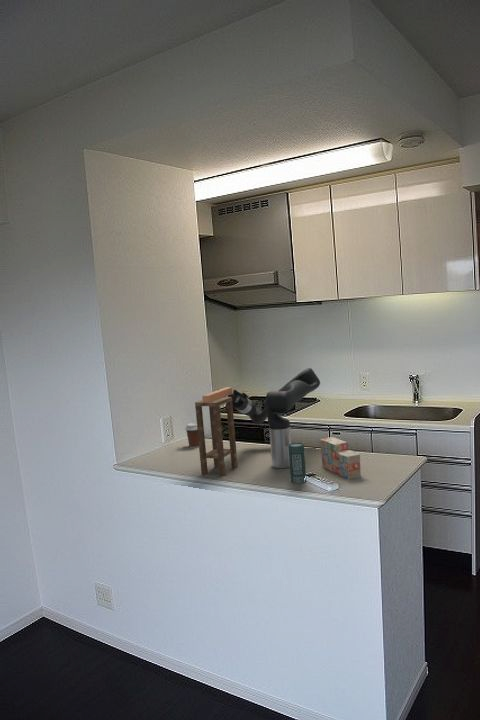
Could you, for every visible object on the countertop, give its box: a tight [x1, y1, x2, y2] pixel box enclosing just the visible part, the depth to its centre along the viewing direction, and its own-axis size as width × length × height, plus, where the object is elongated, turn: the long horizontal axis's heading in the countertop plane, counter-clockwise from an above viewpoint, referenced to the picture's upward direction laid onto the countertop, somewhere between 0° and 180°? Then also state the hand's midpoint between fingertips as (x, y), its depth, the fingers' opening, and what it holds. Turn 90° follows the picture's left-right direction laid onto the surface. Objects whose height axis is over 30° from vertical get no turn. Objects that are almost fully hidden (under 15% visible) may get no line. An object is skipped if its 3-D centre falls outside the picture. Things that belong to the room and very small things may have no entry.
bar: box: [202, 386, 233, 403], centre depth 250 cm, size 21×3×3 cm, turn 152°
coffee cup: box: [184, 422, 199, 449], centre depth 296 cm, size 9×9×12 cm
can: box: [288, 442, 307, 484], centre depth 227 cm, size 6×6×15 cm
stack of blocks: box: [319, 436, 362, 480], centre depth 236 cm, size 21×6×12 cm, turn 21°
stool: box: [194, 396, 239, 477], centre depth 248 cm, size 11×13×32 cm
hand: (225, 391), depth 257 cm, fingers open, 8 cm apart
